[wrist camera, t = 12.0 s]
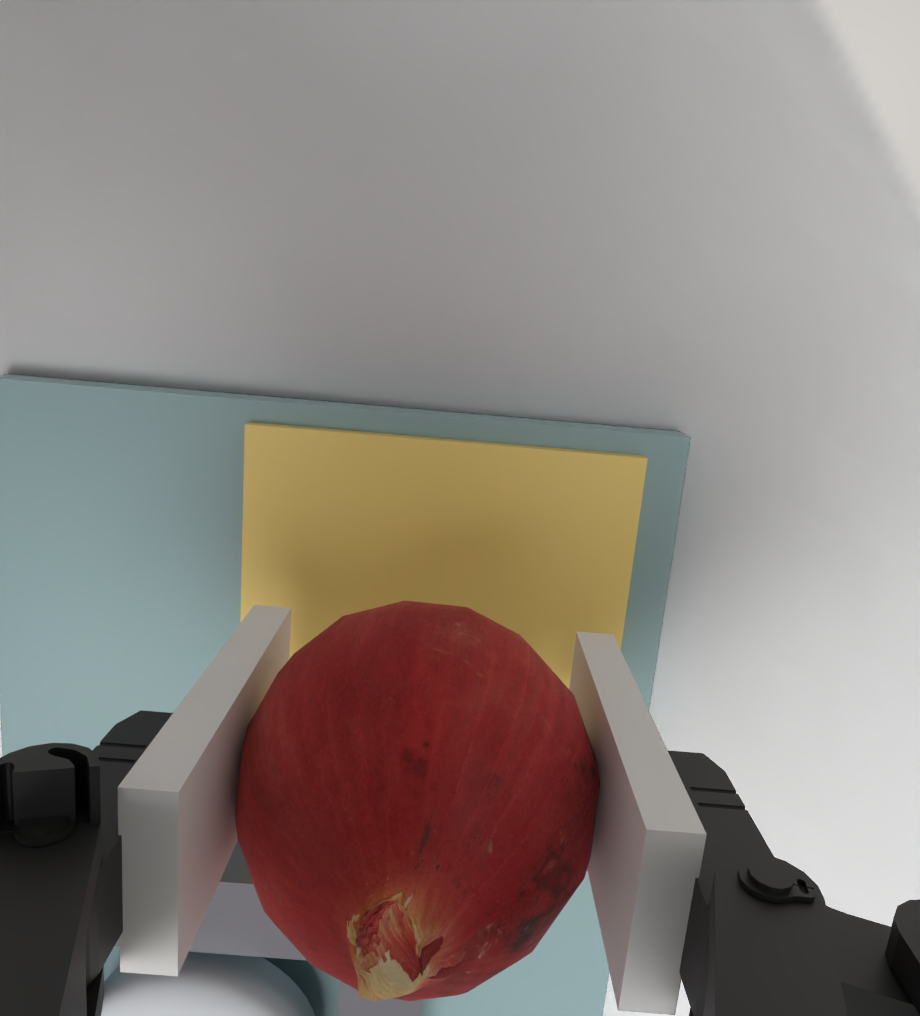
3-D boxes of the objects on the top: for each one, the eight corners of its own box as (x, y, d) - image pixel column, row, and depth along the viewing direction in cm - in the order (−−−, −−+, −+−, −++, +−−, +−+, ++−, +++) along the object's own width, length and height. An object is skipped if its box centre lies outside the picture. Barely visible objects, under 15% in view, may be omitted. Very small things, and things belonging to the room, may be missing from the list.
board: (7, 374, 19) (-18, 377, 18) (678, 431, 19) (690, 437, 18) (41, 1113, 24) (23, 1146, 23) (571, 1151, 24) (576, 1186, 23)
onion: (619, 637, 17) (759, 912, 9) (479, 850, 18) (494, 1262, 10) (372, 500, 16) (285, 666, 8) (243, 730, 17) (58, 1069, 9)
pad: (249, 421, 18) (244, 424, 18) (643, 455, 18) (648, 458, 18) (241, 775, 20) (236, 785, 20) (595, 803, 20) (597, 813, 20)
